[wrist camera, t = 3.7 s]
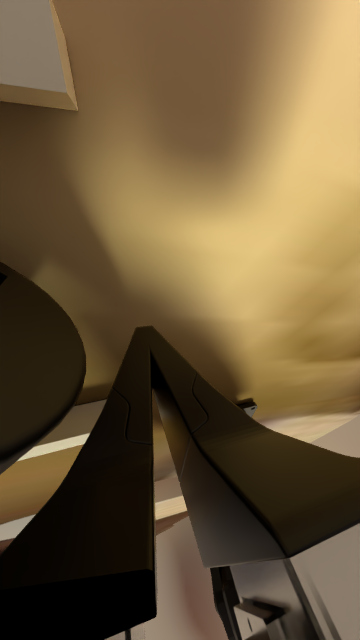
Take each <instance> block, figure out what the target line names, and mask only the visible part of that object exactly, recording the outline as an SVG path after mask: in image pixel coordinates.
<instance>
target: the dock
mask: <svg viewBox="0 0 360 640" xmlns="http://www.w3.org/2000/svg"><path fill="white" fill-rule="evenodd" d="M0 101H4V102H12V103H20V104H28V105H36V106H44V107H51V108H59V109H67V110H75V111H78V107H77V101H76V95H75V90H74V84H73V79H72V73H71V68H70V62H69V57H68V51H67V45H66V40H65V36H64V33H63V30H62V27H61V25H60V22H59V19H58V16H57V13H56V10H55V8H54V5H53V2H52V0H0ZM106 400H107V399H106ZM106 400H102V401H97V402H92V403H87V404H83V405H78V406H73V408H72V409H71V410H70V412H69V413H68V414H67V415H66V417H65V418H64V419H63V421H62V422H61V423H60V424H59V426H57V427H56V428H55V429H54V430H53V431H52V432H51V433H49V434H48V435H47V436H46V437H45V438H44V439H43V440H41V441H40V442H39V443H38V444H37V445H36V446H34V447H33V448H32V449H31V450H30V451H28V452H27V453H26V454H25V455H23V456H22V457H21V458H20V459H19V460H17V461H20V460H23V459H27V458H31V457H35V456H39V455H43V454H47V453H50V452H54V451H58V450H62V449H66V448H70V447H74V446H78V445H81V444H84V443H85V442H86V440H87V438H88V436H89V434H90V433H91V431H92V429H93V427H94V425H95V423H96V421H97V419H98V417H99V415H100V414H101V412H102V409H103V407H104V405H105V403H106Z"/></svg>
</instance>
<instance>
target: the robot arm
mask: <svg viewBox="0 0 360 640" xmlns="http://www.w3.org/2000/svg"><path fill="white" fill-rule="evenodd" d="M152 390H153V393H154V396H155V400H156V403H157V407H158V410H159V414H160V417H161V421H162V424H163V427H164V431H165V434H166V438H167V441H168V445H169V448H170V452H171V455H172V458H173V462H174V465H175V469H176V472H177V476H178V479H179V482H180V486H181V490H182V493H183V497H184V500H185V503H186V507H187V510H188V514H189V517H190V521H191V524H192V527H193V531H194V534H195V538H196V541H197V544H198V548H199V551H200V555H201V558H202V562H203V565H204V568H210V570H211V576H212V585H213V594H214V603H215V607H216V611H217V613H218V614H219V615H220V618H221V620H222V621H223V624H224V627H225V630H226V633H227V636H228V639H229V640H360V458H356V457H350V456H345V455H342V454H338V453H335V452H332V451H330V450H327V449H324V448H321V447H318V446H315V445H312V444H310V443H307V442H304V441H301V440H298V439H295V438H292V437H290V436H287V435H284V434H281V433H278V432H275V431H273V430H271V429H268V428H266V427H265V426H263V425H261V424H260V423H258V422H257V421H255V420H254V419H253V418H251V417H252V416H253V414H254V412H255V410H256V409H257V405H256V403H255V402H252V403H248V404H244V405H240V406H236V405H235V404H234V403H233V402H231V401H230V400H229V399H228V398H226V397H225V396H224V395H223V394H222V393H220V392H219V391H218V390H217V389H216V388H214V387H213V386H212V385H211V384H210V383H209V382H208V381H207V380H206V379H205V378H204V377H203V376H202V375H201V374H200V373H199V372H198V371H197V370H196V369H195V368H194V367H193V366H192V365H191V364H190V363H189V362H188V361H187V360H186V359H185V358H184V357H183V356H182V355H181V354H180V353H179V352H178V351H177V350H176V349H175V348H174V347H173V346H172V345H171V344H170V343H169V342H168V341H167V340H166V339H165V338H164V337H163V336H162V335H161V334H160V333H159V332H158V331H157V330H156V329H155V328H154V327H153V326H143V327H137V328H136V329H135V331H134V334H133V336H132V339H131V341H130V344H129V346H128V349H127V351H126V354H125V356H124V359H123V361H122V364H121V366H120V369H119V371H118V373H117V376H116V378H115V381H114V383H113V386H112V389H111V391H110V393H109V396H108V398H107V400H106V403H105V405H104V407H103V409H102V412H101V414H100V415H99V417H98V419H97V421H96V423H95V425H94V427H93V429H92V431H91V433H90V434H89V436H88V438H87V440H86V442H85V443H84V445H83V447H82V449H81V451H80V452H79V454H78V456H77V458H76V460H75V461H74V463H73V465H72V467H71V469H70V470H69V472H68V474H67V475H66V477H65V479H64V480H63V482H62V483H61V485H60V486H59V488H58V489H57V490H56V492H55V493H54V494H53V496H52V497H51V498H50V499H49V500H48V501H47V503H46V504H45V505H44V506H43V507H42V508H41V509H40V511H39V512H38V513H37V514H36V515H35V516H34V517H33V518H32V520H31V521H30V522H29V523H28V524H27V525H26V526H25V528H24V529H23V530H22V531H21V532H20V533H19V534H18V535H17V537H16V538H15V539H14V540H13V541H12V542H11V543H10V544H9V546H8V547H7V548H6V549H5V550H4V551H3V552H2V554H1V555H0V640H145V631H144V622H146V621H149V620H151V619H153V618H155V617H156V615H157V563H156V526H155V493H154V492H155V491H154V452H153V415H152Z"/></svg>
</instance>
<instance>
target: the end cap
mask: <svg viewBox="0 0 360 640" xmlns="http://www.w3.org/2000/svg"><path fill="white" fill-rule="evenodd" d="M85 374H86V355H85V350H84V346H83V342H82V340H81V337H80V335H79V333H78V330H77V328H76V327H75V325H74V324H73V322H72V320H71V319H70V317H69V316H68V315H67V313H66V312H65V311H64V310H63V309H62V307H61V306H60V305H59V304H58V303H57V302H56V301H55V300H54V299H53V298H52V297H51V296H49V295H48V294H47V293H46V292H45V291H44V290H42V289H41V288H40V287H38V286H37V285H36V284H35V283H33V282H32V281H30V280H29V279H27V278H26V277H24V276H23V275H21V274H19V273H18V272H16V271H15V270H12V269H11V268H9V267H8V266H6V265H4V264H3V263H1V262H0V474H1V473H3V472H4V471H5V470H6V469H8V468H9V467H10V466H11V465H12V464H14V463H15V462H16V461H17V460H19V459H20V458H21V457H22V456H23V455H25V454H26V453H27V452H28V451H30V450H31V449H32V448H33V447H34V446H36V445H37V444H38V443H39V442H40V441H41V440H43V439H44V438H45V437H46V436H47V435H48V434H49V433H51V432H52V431H53V430H54V429H55V428H56V427H57V426H59V424H60V423H61V422H62V421H63V419H64V418H65V417H66V415H67V414H68V413H69V412H70V410H71V409H72V408H73V406H74V405H75V403H76V401H77V399H78V397H79V395H80V392H81V390H82V388H83V383H84V379H85Z"/></svg>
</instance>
